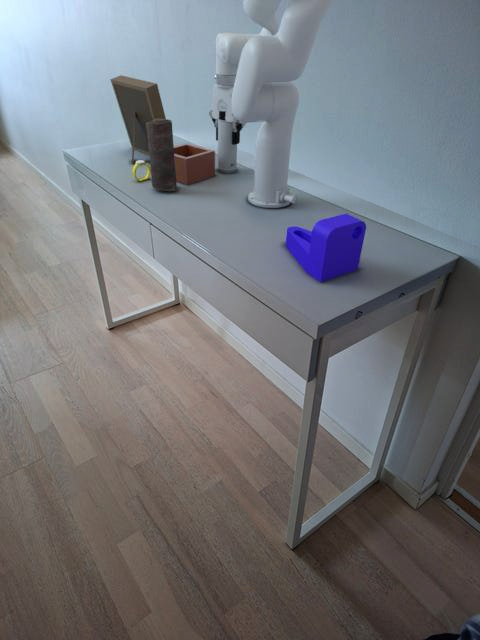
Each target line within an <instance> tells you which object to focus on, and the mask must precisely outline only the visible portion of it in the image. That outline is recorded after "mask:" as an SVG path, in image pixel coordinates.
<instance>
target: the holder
mask: <svg viewBox="0 0 480 640" xmlns="http://www.w3.org/2000/svg"><path fill="white" fill-rule="evenodd" d="M174 158H175V170H176V182H177V183H181V184H183V185H186V186H188V185H192V184H195V183H197V182H201V181H203V180H206V179H209V178H212V177H215V176H216V150H213V149H210V148H206V147H202V146H199V145H195V144H192V143H187V142H186V143H182V144H178V145H175V146H174Z"/></svg>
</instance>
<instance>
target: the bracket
mask: <svg viewBox="0 0 480 640" xmlns="http://www.w3.org/2000/svg"><path fill="white" fill-rule="evenodd" d="M366 231H367V224H366V222H365V221H363V220H362V219H360V218H357V217H356V216H353V215H351V214H349V213H342V214H338V215H335V216H331V217H326V218H323V219H320V220H318V221H317V222H316V223H315V224H314V225H313V228H312V230H308V229H307V228H303V227H300V226H293V225H292V226H289V227H287V228H286V236H285V248H286V249H287V250H288V251H289V253H290V254H291V255H292V257H293V258H294V260H295V261H297V263H298V264H299V265H300V267H302V269H303V270H304V271H305V273H306V274H308V275H310V277H312V278H313V279H315V280H317V281H318V282H320V283H322V282H325V281H328V280H330V279H333V278H336V277H340V276H343V275H345V274H348V273H351V272H354V271H357V270H358V269H359V265H360V261H361V260H360V259H361V255H362V250H363V245H364V241H365V235H366Z"/></svg>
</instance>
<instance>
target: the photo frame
mask: <svg viewBox="0 0 480 640" xmlns="http://www.w3.org/2000/svg"><path fill="white" fill-rule="evenodd" d="M110 83H111V86H112V89H113V92H114V95H115V99H116V101H117V106H118V108H119V111H120V115H121V118H122V122H123V124H124V127H125V130H126V133H127V136H128V140H129V143H130V146H131V149H132V152H131V153H132V155H131V164H132V165H133V164H134V158H135V157H134V156H135V151H137V152H139V153H142V154H144V155H147V156H149V146H148V137H147V127H146V122H150V121H154V120H155V119H158V118H159V119H167V118H166V113H165V110H164V107H163V102H162V97H161V94H160V89H159V85H158V83H156V82H152V81H148V80H147V81H146V80H143V79H139V78H135V77H130V76H125V75H122V74H121V75H118V76H115V77H112V78H110Z"/></svg>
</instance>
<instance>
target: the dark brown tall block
mask: <svg viewBox="0 0 480 640" xmlns="http://www.w3.org/2000/svg"><path fill="white" fill-rule="evenodd" d="M146 127H147V137H148V146H149V155H148V158H149V166H150V170H151V172H150V177H151V178H150V179H151V187H152V188H153V189H154V190H157V191H163V192H164V191H165V192H176V191H177V190H178V184H177V183H178V182H177V181H176V170H175V158H174V132H173V122H172V120H171V119H168V118H166V119H159V118H158V119H155V120H154V121H150V122H146Z"/></svg>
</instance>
